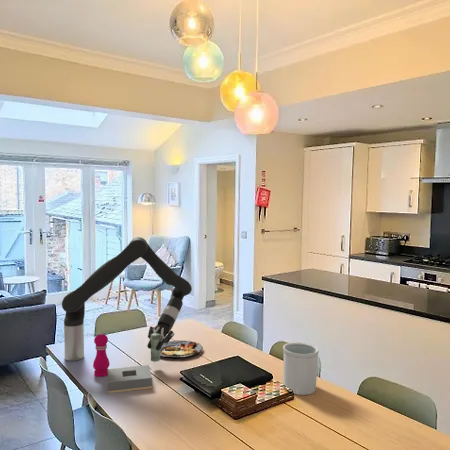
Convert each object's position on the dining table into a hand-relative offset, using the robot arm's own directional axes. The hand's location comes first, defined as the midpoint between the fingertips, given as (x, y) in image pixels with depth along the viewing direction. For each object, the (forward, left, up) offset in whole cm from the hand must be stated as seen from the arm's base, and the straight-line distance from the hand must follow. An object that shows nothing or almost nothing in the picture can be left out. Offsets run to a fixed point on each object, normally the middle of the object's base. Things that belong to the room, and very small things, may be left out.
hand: (153, 348), depth 196 cm
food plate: (-20, +15, -11) cm, 28 cm away
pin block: (+12, -12, -10) cm, 19 cm away
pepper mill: (-1, -23, -10) cm, 25 cm away
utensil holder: (+35, +58, -10) cm, 69 cm away
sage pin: (-1, +1, -6) cm, 6 cm away
